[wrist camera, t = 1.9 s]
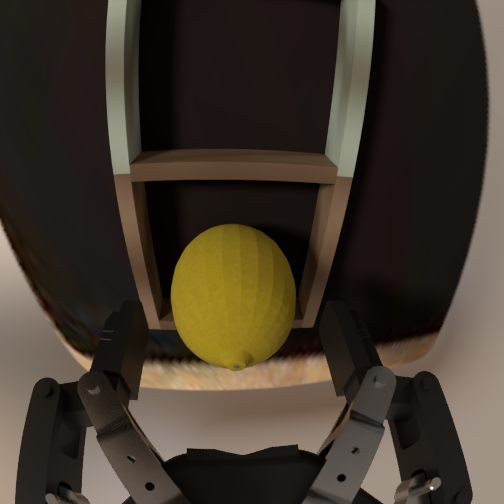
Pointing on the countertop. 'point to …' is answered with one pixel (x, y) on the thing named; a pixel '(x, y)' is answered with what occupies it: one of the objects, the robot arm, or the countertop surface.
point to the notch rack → (235, 157)
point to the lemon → (233, 296)
